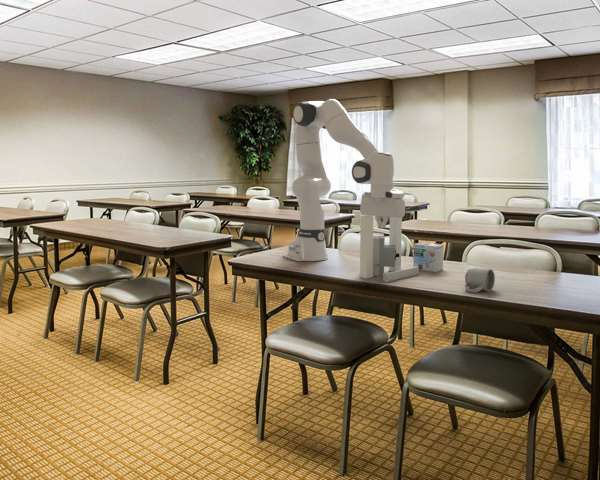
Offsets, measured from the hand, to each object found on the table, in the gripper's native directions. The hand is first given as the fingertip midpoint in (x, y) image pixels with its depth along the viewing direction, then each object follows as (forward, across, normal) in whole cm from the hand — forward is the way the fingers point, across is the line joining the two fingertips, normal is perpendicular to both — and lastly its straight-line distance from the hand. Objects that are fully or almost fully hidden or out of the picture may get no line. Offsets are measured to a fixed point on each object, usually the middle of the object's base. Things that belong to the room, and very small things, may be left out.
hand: (381, 227), depth 211 cm
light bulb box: (+19, +8, +21) cm, 29 cm away
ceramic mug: (+19, +41, +2) cm, 45 cm away
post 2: (+19, 0, +9) cm, 21 cm away
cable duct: (+19, +10, 0) cm, 21 cm away
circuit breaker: (+19, 0, 0) cm, 19 cm away
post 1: (+19, 0, -9) cm, 21 cm away
